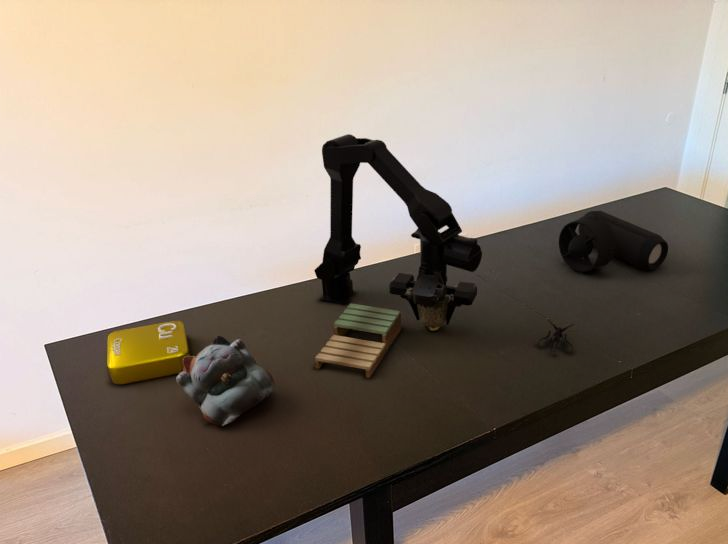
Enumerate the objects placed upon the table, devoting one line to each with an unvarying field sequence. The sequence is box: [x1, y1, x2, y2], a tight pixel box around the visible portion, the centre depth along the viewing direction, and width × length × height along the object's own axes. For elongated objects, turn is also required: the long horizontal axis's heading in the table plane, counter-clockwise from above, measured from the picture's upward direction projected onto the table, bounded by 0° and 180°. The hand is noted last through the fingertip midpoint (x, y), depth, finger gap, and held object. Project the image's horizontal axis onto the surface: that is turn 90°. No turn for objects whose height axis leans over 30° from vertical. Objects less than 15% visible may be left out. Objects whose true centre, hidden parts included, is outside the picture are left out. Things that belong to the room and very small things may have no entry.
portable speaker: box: [578, 210, 669, 271], centre depth 182 cm, size 26×10×10 cm, turn 36°
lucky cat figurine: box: [175, 335, 275, 427], centre depth 122 cm, size 15×12×14 cm
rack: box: [314, 303, 402, 379], centre depth 141 cm, size 12×20×5 cm, turn 165°
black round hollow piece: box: [558, 214, 616, 274], centre depth 173 cm, size 14×14×10 cm
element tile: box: [106, 320, 191, 385], centre depth 135 cm, size 15×15×5 cm
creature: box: [537, 319, 575, 354], centre depth 143 cm, size 8×5×8 cm
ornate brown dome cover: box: [417, 295, 450, 333], centre depth 147 cm, size 8×7×8 cm
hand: (433, 321), depth 148 cm, fingers open, 7 cm apart
